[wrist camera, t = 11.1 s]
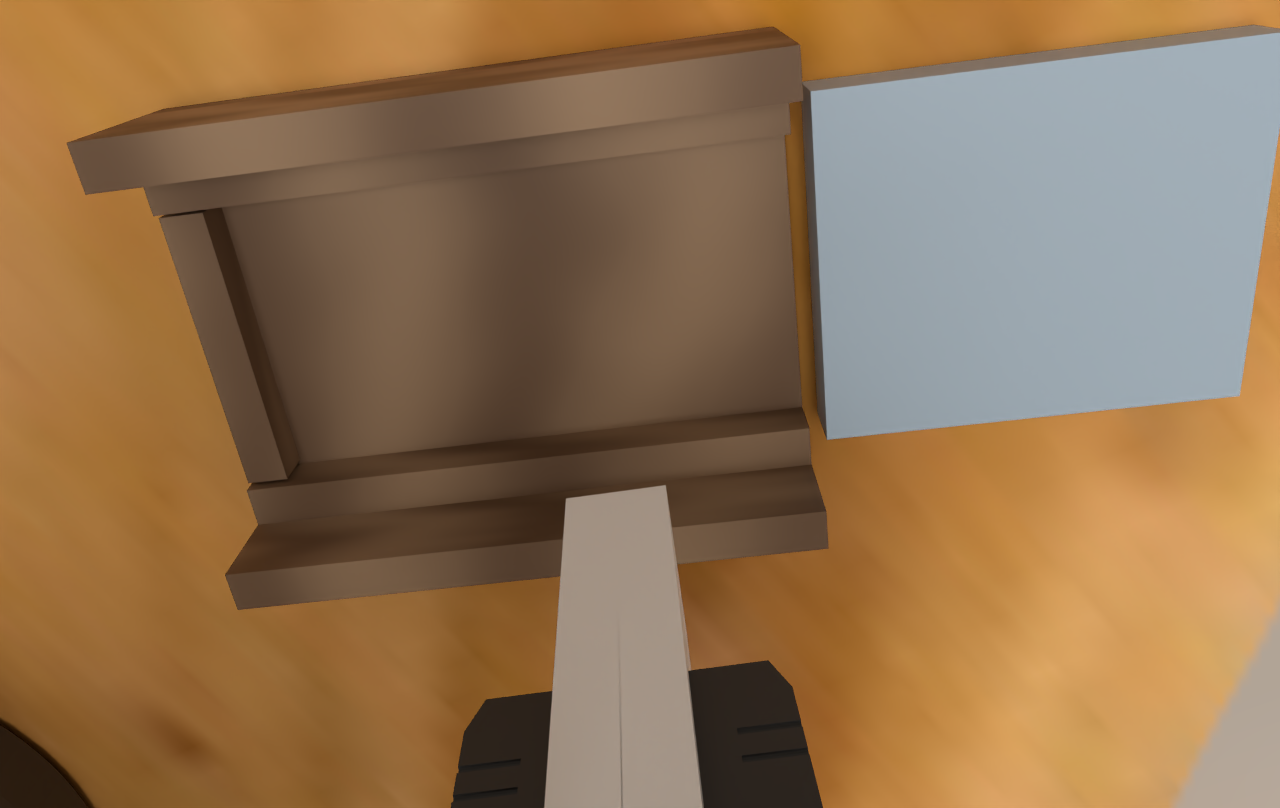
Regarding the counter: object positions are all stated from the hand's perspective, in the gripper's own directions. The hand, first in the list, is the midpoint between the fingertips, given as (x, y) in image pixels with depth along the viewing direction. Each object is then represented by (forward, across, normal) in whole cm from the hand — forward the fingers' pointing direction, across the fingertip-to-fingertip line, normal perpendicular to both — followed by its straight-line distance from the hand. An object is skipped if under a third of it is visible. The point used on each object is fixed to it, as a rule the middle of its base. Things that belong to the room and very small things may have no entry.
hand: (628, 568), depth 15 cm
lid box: (+11, -3, +1) cm, 11 cm away
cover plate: (+11, +10, +1) cm, 15 cm away
